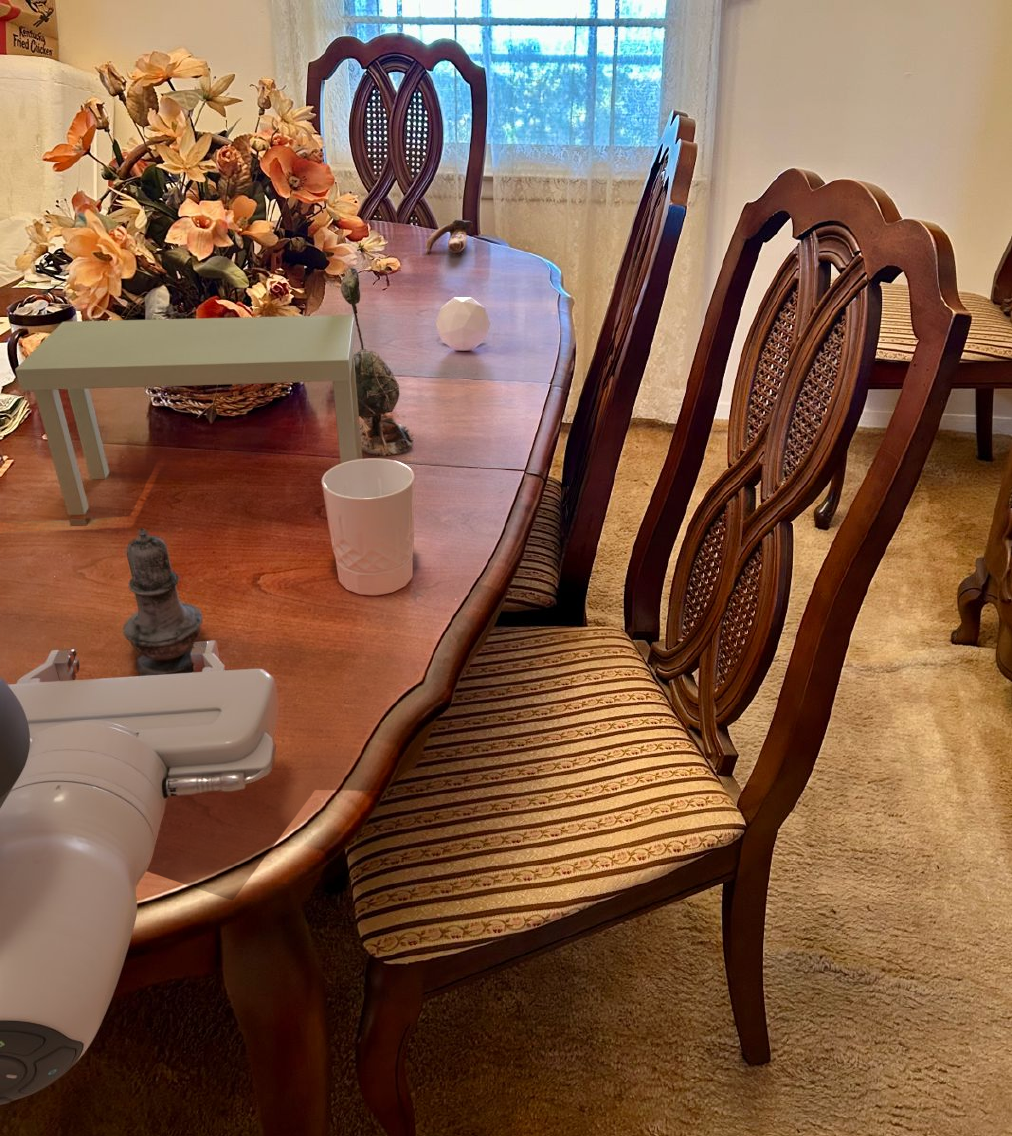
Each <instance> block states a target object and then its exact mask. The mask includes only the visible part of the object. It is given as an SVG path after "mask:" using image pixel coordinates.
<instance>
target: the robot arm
mask: <svg viewBox="0 0 1012 1136" xmlns="http://www.w3.org/2000/svg"><path fill="white" fill-rule="evenodd" d="M77 655H78V653H77V650H76V649H75V648H72V649H71V648H69V649H67V648H66V649H52V650H50V652H49V653H48V656H47V657H46V660H45V661H44V663H42V664H40V665H38V666H37V667H35V668H34V669H32V670H31V671H29V672H27V673H25V674H24V675H22V676H21V677H19V678H18V679H17V681H16V683H12V684H11V683H10V684H9V683H7V682H6V681H5V679H3V677H1V675H0V1106H1V1105H6V1104H9V1103H11V1102H13V1101H17V1100H20V1099H23V1098H26V1097H28V1096H31V1095H33V1094H36V1093H37V1092H40V1091H41V1090H43V1089H45V1088H47V1087H49V1086H51V1085H52V1084H54V1083H55V1082H57V1081H58V1080H59V1079H60V1078H61V1077H63V1076H64V1075H65V1074H67V1073H68V1072H69V1071H70V1070H71V1068H73V1067H74V1065H76V1063H78V1062H79V1060H80V1059H81V1058H82V1057H83V1056H84V1054H85V1053H86V1052H87V1050H88V1048H89V1047H90V1046H91V1044H92V1043H93V1041H94V1039H95V1038H96V1035H97V1034H98V1031H99V1029H100V1027H101V1025H102V1023H103V1020H104V1018H105V1016H106V1014H107V1012H108V1009H109V1006H110V1004H111V1001H112V999H113V996H114V993H115V990H116V988H117V985H118V982H119V979H120V977H121V974H122V969H123V967H124V964H125V960H126V957H127V954H128V950H129V946H130V945H131V944H130V943H131V940H132V937H133V932H134V930H135V929H134V928H135V925H136V920H137V915H138V899H137V888H138V884H139V883H140V881H141V880H142V879H143V877H144V876H145V874H146V872H147V870H148V868H149V867H150V865H151V862H152V859H153V857H154V853H155V849H156V844H157V840H158V836H159V832H160V830H161V829H160V828H161V825H162V822H163V818H164V814H165V810H166V807H167V803H168V799H169V797H171V798H172V797H182V796H183V797H184V796H192V795H193V796H195V795H199V794H205V793H212V792H222V793H233V792H239V791H242V790H245V789H246V787H247V784H251V783H255V782H257V781H259V780H261V779H262V778H264V777H267V776H268V775H270V774H271V771H272V770H273V767H274V765H275V764H274V763H275V756H276V747H277V746H276V742H275V740H274V738H275V735H276V732H277V728H278V725H279V721H280V714H281V713H280V711H281V709H280V699H279V692H278V688H277V683H276V680H275V677H274V676H272V675H271V674H270V673H269V672H267V670H265V669H263V668H244V669H243V668H242V669H241V668H240V669H228V670H227V669H226V667H225V665H224V664H223V662H222V661H221V660H220V652H219V648H218V641H217V640H214V639H213V640H204V641H203V640H202V641H196V642H194V643H193V648H192V650H191V653H190V656H191V661H192V663H193V664H194V665H193V670H194V671H193V672H191V673H179V674H164V675H148V676H142V675H135V676H121V677H120V676H119V677H118V676H117V677H103V678H102V677H101V678H88V679H87V678H85V679H76V678H77V674H78V673H79V671H80V660H79V659H78V657H76V656H77Z"/></svg>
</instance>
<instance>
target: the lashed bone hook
mask: <svg viewBox="0 0 1012 1136" xmlns="http://www.w3.org/2000/svg"><path fill="white" fill-rule="evenodd" d="M473 226H474V223H473V222H472V221H470V220H463V219H455V220H453V221H452V222H451V223H447V224H445V225H443V226H441V227H439V228H438V229H436V230H435V231H434V232H433V233H432V234H431V235H430V236H429V238H428V239H427V242H426V251H427V253H428V254H430V253H431V250H432V248H433V247H434V244H435V242H437V241H438V240H439V239H440V238H441V237H442V236H444V235H445V234H447V233H449V234H450V236H449V239H448V242H447V247H448V249H449V251H450V252H451V253H454V254H455V253H456V254H459V253H461V252H462V251H463V250H464V249H465V248H466V246H467V244H468V234H469V229H470V228H473Z"/></svg>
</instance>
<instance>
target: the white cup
mask: <svg viewBox="0 0 1012 1136" xmlns="http://www.w3.org/2000/svg"><path fill="white" fill-rule="evenodd" d="M415 477H416V476H415V473H414V471H413V469H412V468H410V467H409V466H408V465H406V464H404V463H402V462H400V461H397V460H393V459H387V458H374V457H373V458H372V457H370V458H369V457H367V458H362V459H358V460H352V461H348V462H344V463H341V464H340V463H339V464H337V465H334V466H333V467H331V468H329V469H328V470H327V471H325V473H324V474H323V475H322V478H321V487H322V494H323V499H324V507H325V512H326V519H327V520H326V521H327V527H328V531H329V536H330V542H331V548H332V552H333V554H334V558H335V564H336V570H337V578H338V582H339V583H340V584H341V586H342V587H344V588H345V590H347V591H349V592H352V593H355V594H357V595H361V596H382V595H386V594H392V593H395V592H397V591H398V590H401V589H402V588H404V587H406V586H407V585H408V584H409V582H410V581H411V580H412V579H413V577H414V573H413V572H414V571H413V570H414V568H413V566H414V565H413V564H414V563H413V556H414V555H413V554H414V553H413V552H414V549H415V486H416V485H415V482H416V481H415V480H416V479H415Z"/></svg>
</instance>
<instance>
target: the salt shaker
mask: <svg viewBox="0 0 1012 1136" xmlns="http://www.w3.org/2000/svg"><path fill="white" fill-rule="evenodd" d="M147 534H148V530H146V529H145V528H143V527H140V528H139V530H138V532H137V535H138V537H136V538H133V540H131V541H130V542H129V543H128V545H127V546H126V550H125V551H126V558H127V562H128V567H129V571H130V575H131V579H130V580H129V582H128V589H129V590H130V592H132V593H133V594H134V596H135V600H136V604H137V611H136V612H134V613H133V614H132V615H131V616H130V617H129V618H128V619H127V620H126V621H125V623H124V625H123V626H122V627H123V628H122V634H123V635H124V638H125V639H126V640H128V642H129V643H130V644H131V646H132V647H133V649H134V650H135V651H136V652H137V653H138V654H140V655H138V658H137V660H136V662H135V663H136V664H135V666H136V670H137V672H138V674H140V676H148V675H164V674H179V673H194V670H193V665H194V664H193V663H192V661H191V656H190V653H191V650H192V648H193V643H194V642H198V639H199V635H200V632H201V625H202V623H203V621H204V620H203V614H202V611H200V609H199V608H197V607H196V606H195V605H193V604H190V603H187V602H182V601H180V597H179V593H178V588H177V585H178V583H179V581H180V578H179V575H178V573H176V572H175V571H174V570H172V565H171V561H170V560H171V559H170V556H169V551H168V548H167V547H168V546H167V545H166V542H165V541H164V540H163V539H162V538H160V537H158V536H154V535H147Z"/></svg>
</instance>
